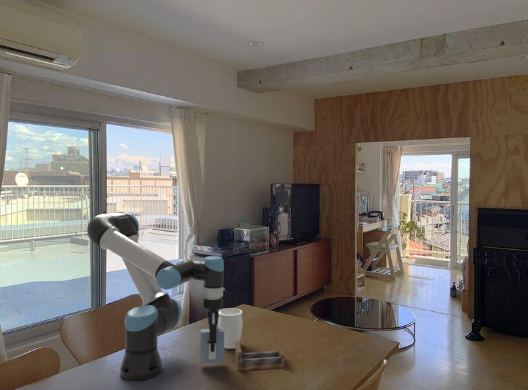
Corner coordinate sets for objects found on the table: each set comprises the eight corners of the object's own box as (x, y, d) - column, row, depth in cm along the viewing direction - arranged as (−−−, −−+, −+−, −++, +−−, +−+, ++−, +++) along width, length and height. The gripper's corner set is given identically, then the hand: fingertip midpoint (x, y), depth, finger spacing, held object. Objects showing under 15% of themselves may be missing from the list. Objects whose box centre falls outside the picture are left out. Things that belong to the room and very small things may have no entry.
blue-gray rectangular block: (200, 363, 151) (200, 332, 150) (200, 359, 154) (200, 329, 153) (223, 361, 152) (224, 331, 152) (223, 358, 155) (224, 328, 155)
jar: (213, 347, 171) (213, 312, 170) (226, 338, 180) (226, 306, 180) (234, 352, 166) (234, 316, 165) (246, 343, 175) (246, 310, 175)
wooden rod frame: (237, 370, 149) (237, 352, 149) (235, 359, 159) (235, 341, 159) (284, 367, 152) (284, 349, 152) (279, 356, 162) (279, 339, 162)
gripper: (224, 303, 145) (222, 365, 146) (222, 291, 161) (220, 347, 162) (203, 303, 144) (202, 366, 144) (203, 291, 160) (202, 348, 160)
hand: (212, 356), depth 153 cm, fingers closed on blue-gray rectangular block, 3 cm apart
